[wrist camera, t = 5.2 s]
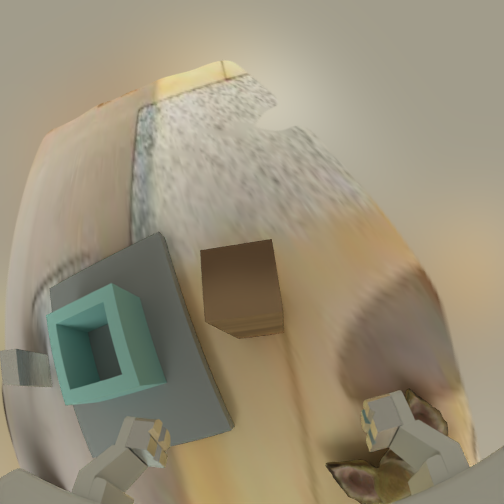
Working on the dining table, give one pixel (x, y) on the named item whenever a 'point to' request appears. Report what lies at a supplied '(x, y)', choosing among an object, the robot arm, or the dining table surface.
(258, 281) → the walnut pin
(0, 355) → the short pin
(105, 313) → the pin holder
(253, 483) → the dining table surface
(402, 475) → the ceramic sculpture
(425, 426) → the robot arm
